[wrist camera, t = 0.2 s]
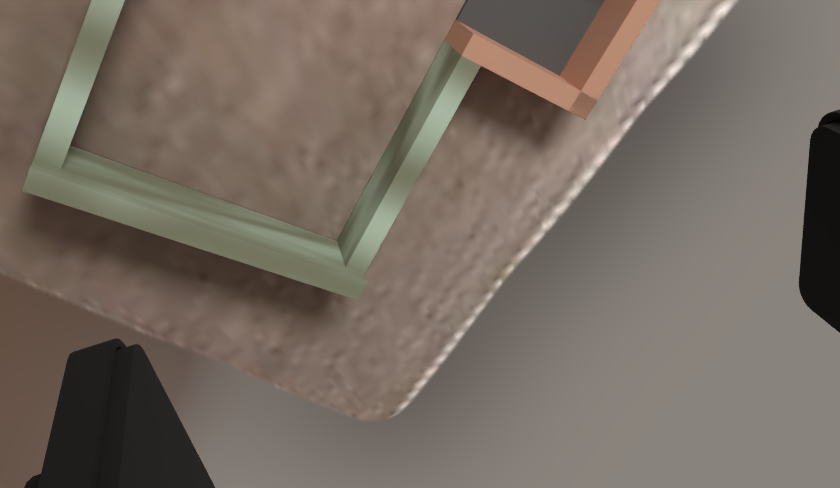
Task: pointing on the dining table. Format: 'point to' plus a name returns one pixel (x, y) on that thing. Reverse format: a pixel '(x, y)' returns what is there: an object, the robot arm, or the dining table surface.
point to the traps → (551, 43)
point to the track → (225, 222)
